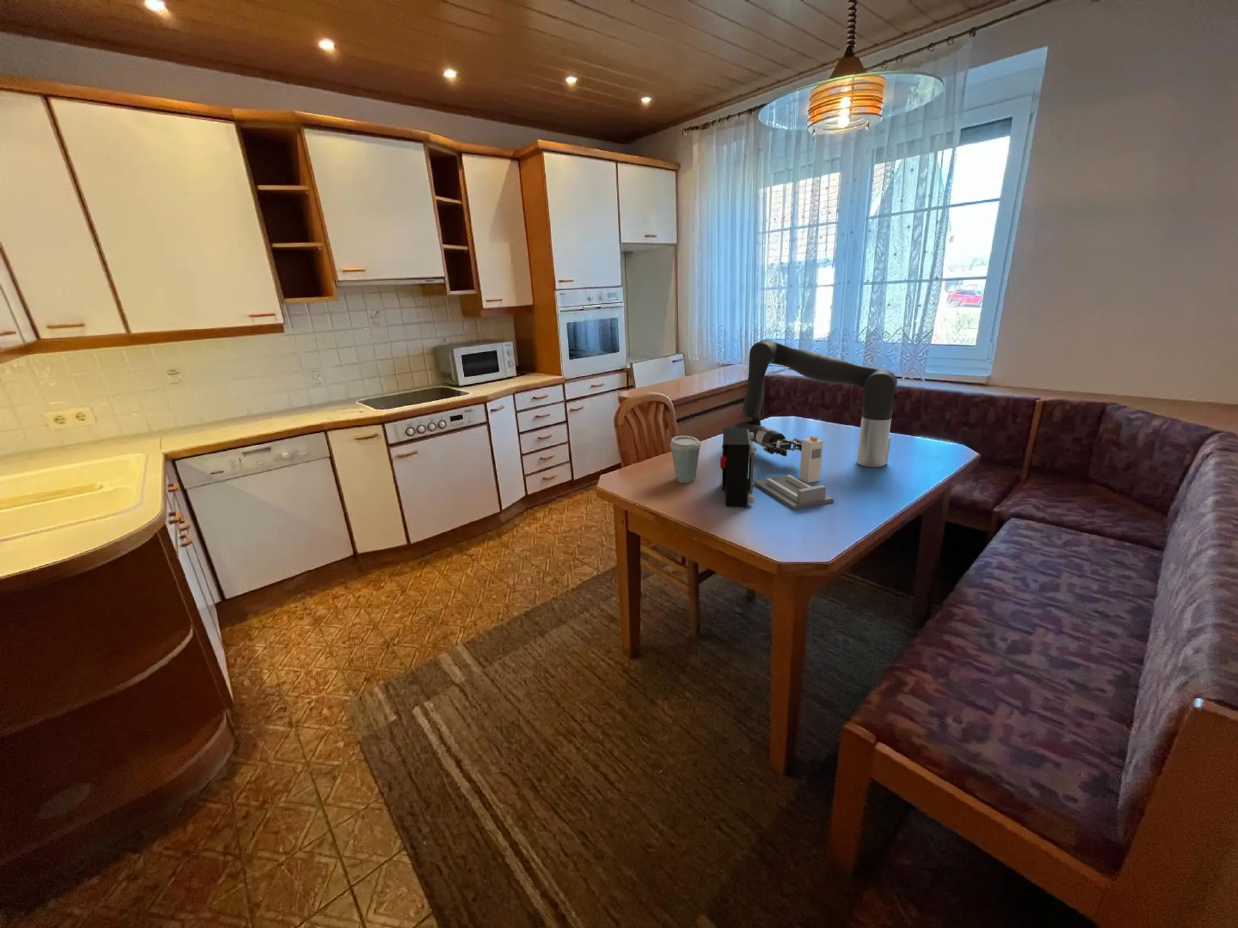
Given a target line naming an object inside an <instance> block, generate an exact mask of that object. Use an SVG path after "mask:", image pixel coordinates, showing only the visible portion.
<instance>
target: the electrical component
mask: <svg viewBox="0 0 1238 928" xmlns="http://www.w3.org/2000/svg"><path fill="white" fill-rule="evenodd" d="M722 431H723V432H722V446H721V449H722V456H720V462H719V463H720V465H719V466H720V467H719V468H720V469H721V471H722V475H721V477H722V478H721V484H720V486H721V490H722V491H725V507H726V508H745V509H746V508H748V507H750V506H749V505H750V504H754V503H755V497H754V495H753V492H754V491H753V490H754V489H753V488H754V468H755V453H756V452H757V446H756V445H754V443H753V441H751V440H750V439H753V438H754V434H753V432H750V433H749V429H747V428H734V427H723V430H722Z"/></svg>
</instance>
